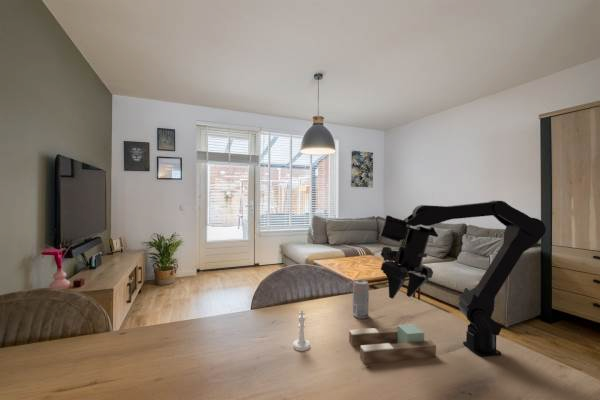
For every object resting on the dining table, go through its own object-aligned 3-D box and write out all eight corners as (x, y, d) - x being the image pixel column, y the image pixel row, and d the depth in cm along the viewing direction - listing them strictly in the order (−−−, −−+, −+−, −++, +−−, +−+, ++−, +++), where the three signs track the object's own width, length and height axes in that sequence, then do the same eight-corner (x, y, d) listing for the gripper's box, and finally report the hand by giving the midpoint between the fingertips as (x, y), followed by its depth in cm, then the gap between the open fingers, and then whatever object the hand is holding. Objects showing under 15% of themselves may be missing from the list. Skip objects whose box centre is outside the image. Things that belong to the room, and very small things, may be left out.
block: (413, 341, 77) (413, 324, 77) (424, 350, 72) (424, 332, 72) (397, 342, 76) (397, 325, 76) (407, 352, 71) (407, 333, 71)
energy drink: (367, 312, 96) (367, 279, 96) (369, 319, 91) (369, 284, 91) (352, 312, 97) (352, 279, 97) (353, 318, 92) (354, 283, 92)
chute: (412, 336, 80) (412, 325, 80) (435, 356, 70) (436, 344, 70) (349, 341, 77) (349, 330, 77) (363, 363, 66) (364, 350, 66)
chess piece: (308, 352, 71) (309, 314, 71) (290, 349, 72) (291, 313, 72) (311, 342, 76) (312, 307, 76) (294, 340, 77) (295, 306, 77)
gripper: (407, 240, 90) (394, 284, 91) (373, 235, 78) (359, 285, 79) (440, 252, 81) (425, 300, 82) (407, 248, 70) (390, 304, 71)
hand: (399, 297), depth 79 cm, fingers open, 9 cm apart
